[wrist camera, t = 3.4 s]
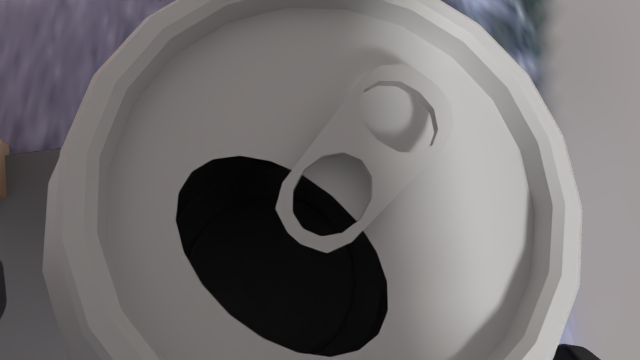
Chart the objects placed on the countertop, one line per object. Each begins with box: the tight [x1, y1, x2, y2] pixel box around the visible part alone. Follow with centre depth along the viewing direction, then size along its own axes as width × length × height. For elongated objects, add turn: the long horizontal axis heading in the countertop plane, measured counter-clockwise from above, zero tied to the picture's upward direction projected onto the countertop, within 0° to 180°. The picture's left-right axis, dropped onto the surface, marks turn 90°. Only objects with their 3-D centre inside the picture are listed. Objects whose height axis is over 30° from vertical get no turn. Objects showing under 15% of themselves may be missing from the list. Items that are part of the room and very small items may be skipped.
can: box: [42, 0, 582, 360], centre depth 11 cm, size 8×8×12 cm
